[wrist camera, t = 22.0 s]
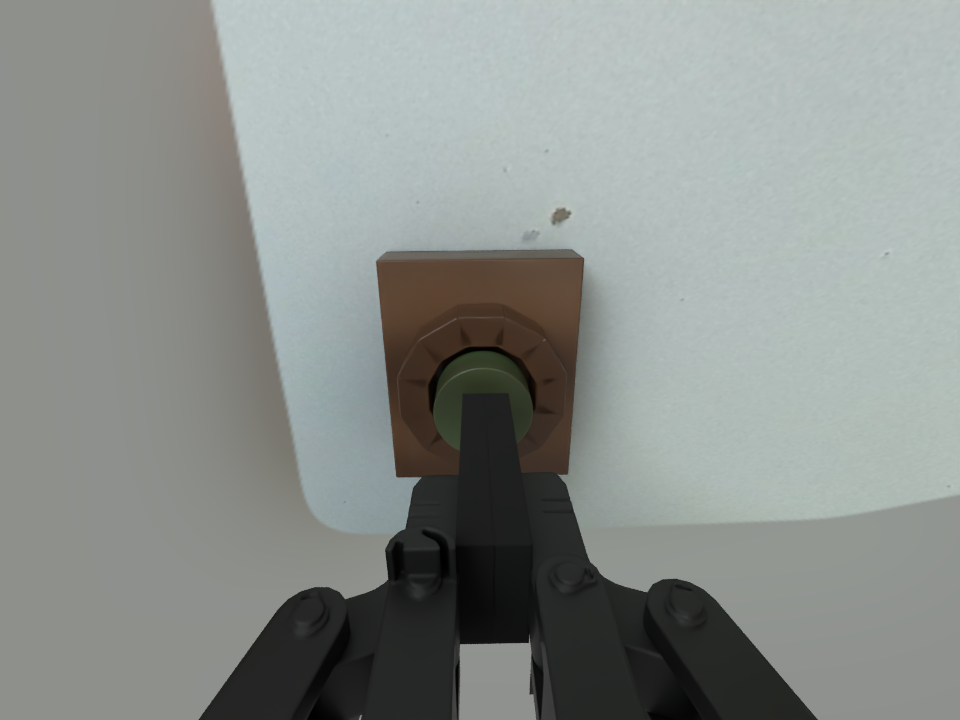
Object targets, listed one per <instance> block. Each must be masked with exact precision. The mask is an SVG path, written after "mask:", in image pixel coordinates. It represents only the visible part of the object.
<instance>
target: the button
mask: <svg viewBox="0 0 960 720" xmlns="http://www.w3.org/2000/svg"><path fill="white" fill-rule="evenodd" d="M477 393H509V399H510V405H511V411H512V418H513V424H514V430H515V436H516V442H517V443H518V442H519V441H520V440H521V439H522V438H523V437H524V436H525V434H526V433H527V431H528V429H529V427H530V425H531V421H532V417H533V405H532V400H531V396H530V393H529V389H528V385H527V382H526V379H525V376H524V374H523V372H522V371H521V369H520V368H519V367H518V365H517V364H516V363H515V362H513V361H512V360H511V359H509V358H508V357H506V356H504V355H502V354H499V353H496V352H492V351H473V352H469V353H466V354H463V355H461V356H459V357H457V358H456V359H454V360H453V361H452V362H450V363H449V364H448V365H447V366H446V368H445V369H444V370H443V372H442V373H441V375H440V377H439V380H438V384H437V389H436V396H435V402H434V408H433V416H434V422H435V425H436V427H437V430H438V432H439V433H440V435H441V436H442V437H443V439H444V440H445V441H446V442H447V443H448V444H449V445H451V446H452V447H454V448H455V449H457V450H459V451H460V436H461V415H462V394H477Z"/></svg>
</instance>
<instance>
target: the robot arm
mask: <svg viewBox="0 0 960 720" xmlns="http://www.w3.org/2000/svg"><path fill="white" fill-rule="evenodd" d="M385 552H386V561H387V570H388V580H387V582H385V583H384V584H383V585H381V586H380V587H378V588H376V589H375V590H372V591H370V592H367V593H365V594H361V595H358V596H355V597H352V598H348V599H344V598H343V596H342V595H341V594H340V592H338V591H335V590H333V589H331V588H329V587H314V588H311V589H308V590H304V591H301V592H299V593H298V594H296V595H294V596H293V597H291V598H289V599H288V600H287V601H286V602H285V603H284V604H283V605H282V606H281V607H280V608H279V609H278V610H277V612H276V613H275V614H274V616H273V617H272V619H271V620H270V621H269V623H268V624H267V626H266V627H265V628H264V630H263V631H262V632H261V634H260V635H259V637H258V638H257V639H256V641H255V642H254V644H253V645H252V646H251V648H250V649H249V650H248V652H247V653H246V655H245V656H244V657H243V659H242V660H241V662H240V663H239V664H238V666H237V667H236V668H235V670H234V671H233V673H232V674H231V675H230V677H229V678H228V680H227V681H226V682H225V684H224V685H223V687H222V688H221V689H220V691H219V692H218V694H217V695H216V696H215V698H214V699H213V700H212V702H211V703H210V705H209V706H208V707H207V709H206V710H205V712H204V713H203V714H202V716H201V717H200V719H199V720H359V717H360V715H362V718H361V720H459V696H460V656H459V652H460V644H492V643H493V644H494V643H529V635H530V643H531V651H532V656H531V674H530V676H531V677H530V694H534V703H535V711H536V719H537V720H818V719H816V717H815V716H814V715H813V714H812V712H811V711H810V710H809V709H808V708H807V707H806V706H805V704H804V703H803V702H802V701H801V700H800V698H799V697H798V696H797V695H796V694H795V693H794V692H793V690H792V689H791V688H790V687H789V686H788V684H787V683H786V682H785V681H784V680H783V679H782V677H781V676H780V675H779V674H778V673H777V671H776V670H775V669H774V668H773V667H772V666H771V664H770V663H769V662H768V661H767V660H766V659H765V657H764V656H763V655H762V654H761V653H760V652H759V650H758V649H757V648H756V647H755V646H754V644H752V642H751V641H750V640H749V639H748V637H747V636H746V635H745V634H744V633H743V632H742V630H741V629H740V628H739V627H738V626H737V625H736V623H735V622H734V621H733V620H732V619H731V618H730V616H729V615H728V614H727V613H726V612H725V611H724V610H723V608H722V607H721V606H720V605H719V603H718V602H717V601H716V600H715V599H714V598H713V597H711V596H710V595H709V594H708V593H707V592H706V591H705V590H703V589H702V588H700V587H698V586H696V585H694V584H692V583H690V582H687V581H683V580H678V579H665V580H664V579H663V580H661V581H659V582H657V583H654V584H653V585H652V586H651V588H650V589H649V591H648V592H643V591H639V590H635V589H631V588H627V587H624V586H621V585H618V584H615V583H613V582H611V581H610V580H608V579H606V578H604V577H603V576H602V575H601V574H600V573H599V571H598V569H597V568H596V567H595V566H594V565H593V564H591V563H590V561H589V558H588V556H587V553H586V550H585V546H584V543H583V540H582V536H581V533H580V530H579V526H578V523H577V520H576V516H575V513H574V511H573V506H572V503H571V501H570V496H569V493H568V490H567V486H566V484H565V483H564V482H563V481H562V480H561V478H560V477H559V476H558V475H557V474H556V473H555V472H528V473H521V467H520V460H519V454H518V448H517V442H516V436H515V430H514V424H513V418H512V411H511V405H510V399H509V393H477V394H462V415H461V436H460V457H459V475H423V477H422V478H421V479H420V480H419V482H418V483H417V484H416V485H415V486H414V488H413V492H412V497H411V505H410V508H409V513H408V518H407V524H406V529H404V530H402V531H400V532H398V533H397V534H396V535H395V536H394V537H393V538H392V539H391V540H390V541H389V544H388V545H387V547H386V550H385Z"/></svg>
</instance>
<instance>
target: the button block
mask: <svg viewBox="0 0 960 720" xmlns="http://www.w3.org/2000/svg"><path fill="white" fill-rule="evenodd" d="M376 265H377V276H378V286H379V297H380V308H381V319H382V329H383V340H384V351H385V361H386V372H387V383H388V394H389V404H390V415H391V426H392V437H393V447H394V458H395V469H396V477H423V475H459V457H460V451H459V450H457V449H455V448H454V447H452V446H451V445H449V444H448V443H447V442H446V441H445V440H444V439H443V437H442V436H441V435H440V433H439V432H438V430H437V427H436V425H435V422H434V416H433V408H434V402H435V396H436V389H437V384H438V380H439V377H440V375H441V373H442V372H443V370H444V369H445V368H446V366H447V365H448V364H449V363H450V362H452V361H453V360H454V359H456V358H457V357H459V356H461V355H463V354H466V353H469V352H473V351H492V352H496V353H499V354H502V355H504V356H506V357H508V358H509V359H511V360H512V361H513V362H515V363H516V364H517V365H518V367H519V368H520V369H521V371H522V372H523V374H524V376H525V379H526V382H527V385H528V389H529V393H530V396H531V400H532V405H533V417H532V421H531V425H530V427H529V429H528V431H527V433H526V434H525V436H524V437H523V438H522V439H521V440H520V441H519V442H518V443H517V448H518V454H519V460H520V467H521V473H528V472H555V473H556V474H557V475H563V474H568V467H569V454H570V441H571V427H572V414H573V401H574V387H575V374H576V361H577V348H578V334H579V321H580V308H581V294H582V281H583V268H584V258H583V257H582V256H580V255H579V254H577V253H576V252H575V251H573V250H493V251H408V252H386V253H385V254H383V255H382V256H381V257H380V258H379V259H378V260H377V261H376Z"/></svg>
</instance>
